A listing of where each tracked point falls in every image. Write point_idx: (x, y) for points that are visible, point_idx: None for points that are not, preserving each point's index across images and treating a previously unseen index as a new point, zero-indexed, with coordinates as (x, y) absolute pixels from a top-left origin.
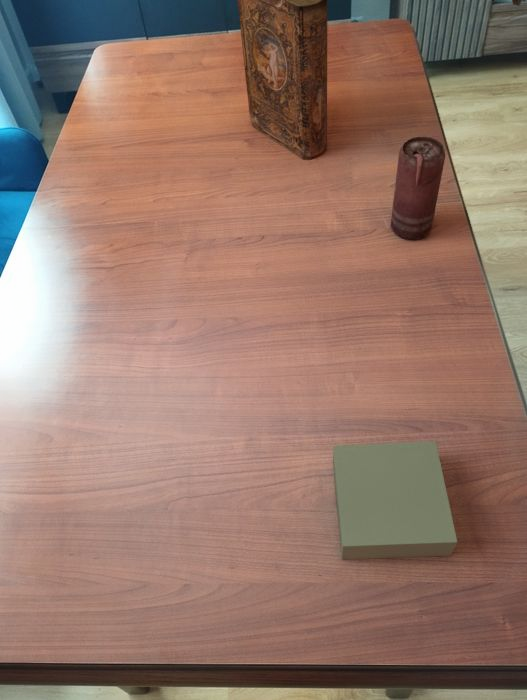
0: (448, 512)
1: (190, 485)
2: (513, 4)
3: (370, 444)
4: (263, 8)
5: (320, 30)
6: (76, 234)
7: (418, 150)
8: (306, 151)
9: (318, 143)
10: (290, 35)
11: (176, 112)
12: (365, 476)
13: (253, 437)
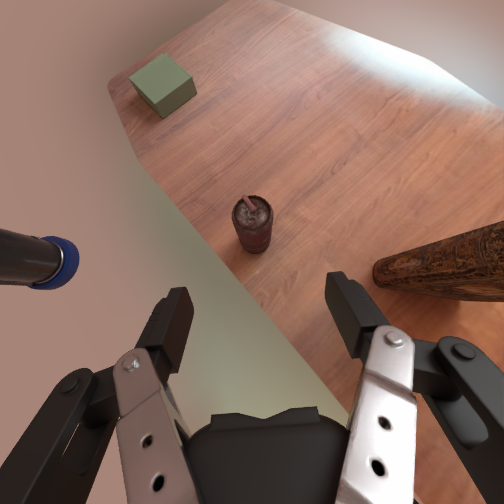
0: (136, 83)
1: (240, 53)
2: (192, 306)
3: (178, 86)
4: None
5: (493, 247)
6: (436, 103)
7: (255, 211)
8: (382, 259)
9: (380, 268)
10: None
11: None
12: (172, 75)
13: (234, 81)
